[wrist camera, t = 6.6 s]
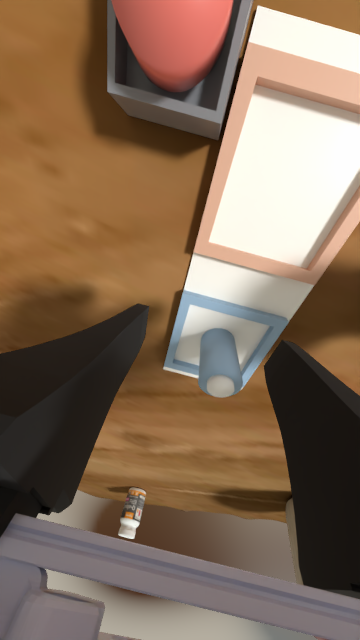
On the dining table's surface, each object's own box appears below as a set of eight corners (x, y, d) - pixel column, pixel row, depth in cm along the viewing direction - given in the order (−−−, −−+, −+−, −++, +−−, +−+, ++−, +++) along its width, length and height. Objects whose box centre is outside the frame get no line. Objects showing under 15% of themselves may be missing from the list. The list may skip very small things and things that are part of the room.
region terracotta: (430, 105, 10) (445, 98, 10) (310, 282, 16) (314, 285, 16) (245, 52, 10) (248, 41, 9) (194, 250, 16) (193, 252, 16)
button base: (262, -37, 9) (284, -134, 6) (218, 140, 12) (220, 123, 10) (136, -74, 9) (106, -188, 6) (128, 115, 12) (107, 91, 10)
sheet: (463, 68, 10) (467, 66, 9) (241, 388, 25) (241, 389, 25) (257, 8, 9) (257, 5, 9) (163, 368, 25) (163, 369, 25)
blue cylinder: (237, 329, 20) (247, 375, 15) (232, 355, 22) (240, 404, 17) (201, 327, 21) (198, 371, 15) (200, 353, 23) (197, 400, 17)
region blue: (286, 317, 18) (289, 321, 18) (242, 382, 25) (243, 387, 24) (183, 289, 18) (182, 293, 18) (164, 361, 24) (163, 366, 24)
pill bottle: (138, 485, 56) (125, 534, 48) (149, 492, 58) (140, 540, 50) (125, 487, 59) (112, 533, 50) (137, 493, 61) (126, 538, 52)
